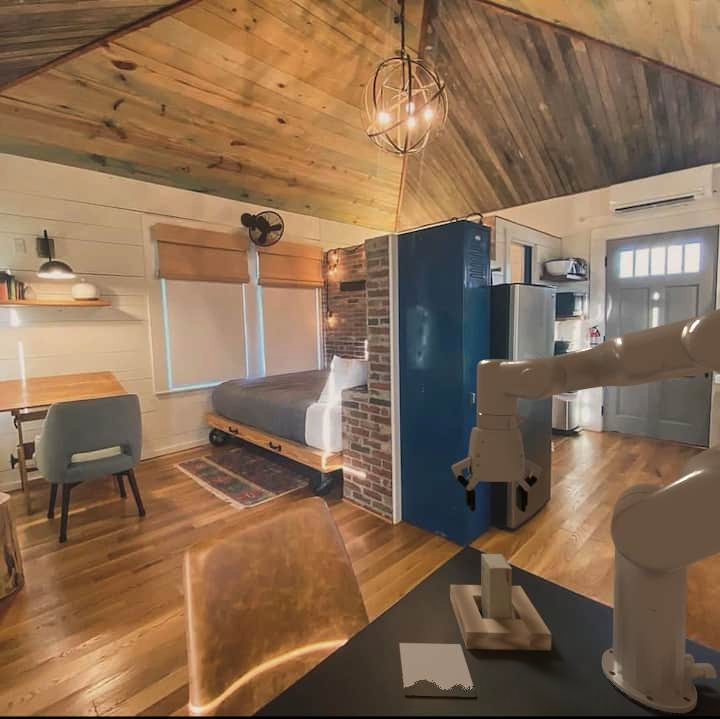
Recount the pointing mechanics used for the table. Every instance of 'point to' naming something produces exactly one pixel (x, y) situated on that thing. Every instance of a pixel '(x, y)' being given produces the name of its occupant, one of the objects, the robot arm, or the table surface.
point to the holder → (499, 622)
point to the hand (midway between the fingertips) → (496, 508)
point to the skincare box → (496, 587)
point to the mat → (434, 665)
